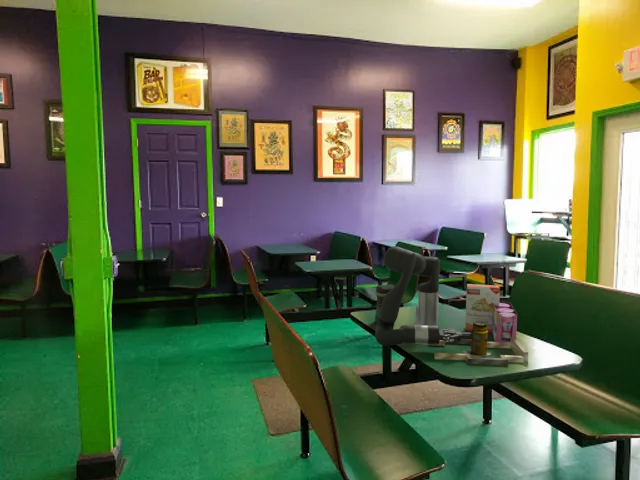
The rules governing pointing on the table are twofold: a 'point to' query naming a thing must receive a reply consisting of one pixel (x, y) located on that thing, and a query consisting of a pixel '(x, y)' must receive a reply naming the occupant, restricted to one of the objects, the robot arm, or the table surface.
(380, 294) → the coffee jar
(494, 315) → the gum box
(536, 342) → the table surface
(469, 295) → the cracker box
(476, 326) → the condiment
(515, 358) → the lane
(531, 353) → the table surface
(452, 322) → the table surface
